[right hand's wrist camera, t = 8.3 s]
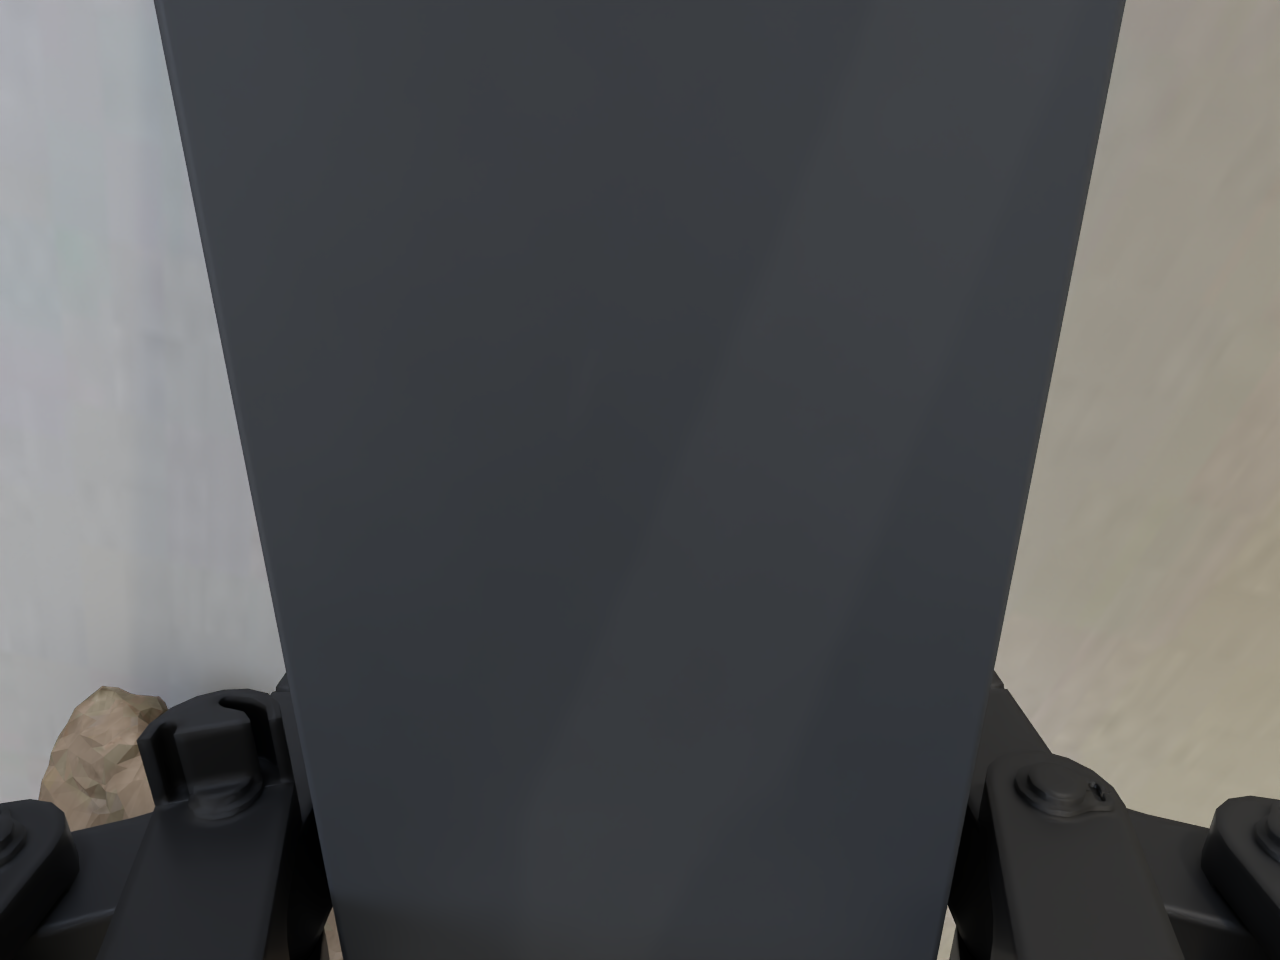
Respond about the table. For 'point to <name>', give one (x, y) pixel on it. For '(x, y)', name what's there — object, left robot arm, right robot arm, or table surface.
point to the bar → (639, 441)
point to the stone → (112, 768)
